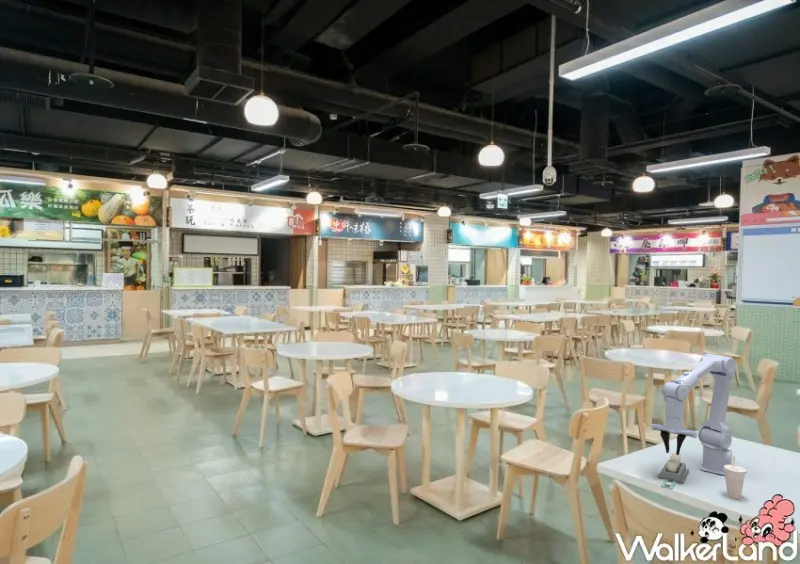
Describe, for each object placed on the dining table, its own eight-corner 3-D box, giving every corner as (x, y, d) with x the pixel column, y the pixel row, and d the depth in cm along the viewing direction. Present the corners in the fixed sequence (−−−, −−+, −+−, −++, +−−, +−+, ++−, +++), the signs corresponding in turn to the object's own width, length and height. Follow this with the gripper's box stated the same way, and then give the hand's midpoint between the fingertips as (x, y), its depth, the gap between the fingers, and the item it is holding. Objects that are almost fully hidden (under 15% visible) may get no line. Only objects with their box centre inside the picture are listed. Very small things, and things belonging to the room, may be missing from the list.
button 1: (677, 471, 182) (677, 461, 182) (675, 474, 180) (676, 463, 180) (668, 469, 184) (668, 459, 184) (666, 472, 181) (667, 461, 181)
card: (676, 482, 179) (676, 481, 179) (672, 489, 173) (672, 488, 173) (665, 479, 181) (665, 478, 181) (660, 486, 175) (661, 485, 175)
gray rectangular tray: (688, 472, 188) (689, 464, 188) (683, 484, 177) (683, 475, 177) (665, 466, 193) (665, 459, 193) (658, 478, 182) (658, 470, 182)
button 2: (681, 464, 189) (681, 454, 189) (679, 467, 187) (680, 456, 186) (672, 462, 191) (672, 452, 191) (670, 465, 188) (671, 454, 188)
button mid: (679, 468, 185) (679, 457, 185) (677, 470, 183) (678, 459, 183) (670, 466, 187) (670, 455, 187) (668, 468, 185) (669, 457, 185)
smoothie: (718, 492, 171) (719, 452, 171) (735, 492, 172) (737, 451, 171) (732, 501, 165) (733, 459, 164) (750, 500, 165) (751, 458, 165)
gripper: (649, 414, 182) (648, 451, 183) (695, 422, 174) (694, 461, 174) (653, 410, 188) (652, 446, 188) (698, 418, 179) (696, 455, 180)
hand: (672, 453), depth 182 cm, fingers open, 3 cm apart
